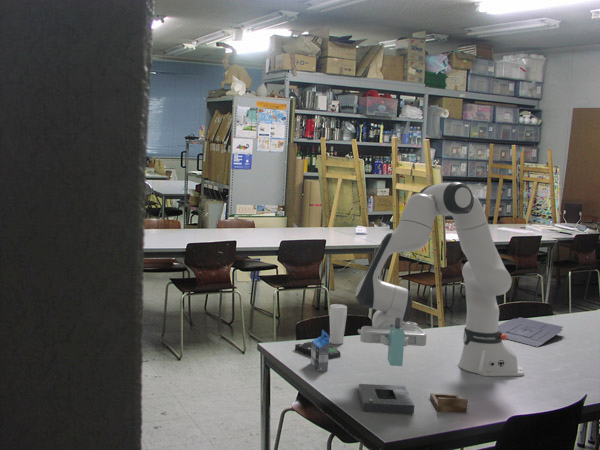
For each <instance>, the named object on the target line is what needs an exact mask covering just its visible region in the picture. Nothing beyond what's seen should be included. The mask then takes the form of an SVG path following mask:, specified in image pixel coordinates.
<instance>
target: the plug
mask: <svg viewBox="0 0 600 450" xmlns="http://www.w3.org/2000/svg"><path fill="white" fill-rule="evenodd" d="M400 322H401V319H400V318H399V317H397V318H396V319H395V327H390V332H389V338H390V340H391V342H390V345H389V346H387V362H388V364H389V366H392V367H394V366H395V367H403V361H404V359H403V358H404V348H405V346H404V336H405V333H404V331H403V329H402V328H400Z"/></svg>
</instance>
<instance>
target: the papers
mask: <svg viewBox="0 0 600 450" xmlns="http://www.w3.org/2000/svg"><path fill="white" fill-rule="evenodd" d="M563 328H564V326H562V325H557V324H552V323H549V322H542V321H538V320H534V319H530V318H526V317H517V318H512V319H509V320H507V321H504V322H503V323H501V324H498V331H499V332H501V333H502V334H505V335H506V336H507V339H506V340H511V341H513V342H517V343H522V344H525V345H529V346H533V347H537V348H539V346H542V345H543V344H545V343H546V342H547V341H549V340H551V339H552V338H553V337H555V336H557V335H559V334H561V333H562V331H563Z"/></svg>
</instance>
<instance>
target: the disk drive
mask: <svg viewBox="0 0 600 450" xmlns="http://www.w3.org/2000/svg"><path fill="white" fill-rule="evenodd" d="M294 345H295V347H294V350H295V352H298V353H301V354H304V355H305V356H307V357H310V358H311V345H312V341H310V342H308V341H307V342H303V343H298V344H294ZM340 357H341V351H340V350H339V349H337V348H333V347H332V346H329V354H328V360H330V359H335V358H340Z"/></svg>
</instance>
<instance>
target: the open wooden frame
mask: <svg viewBox="0 0 600 450" xmlns="http://www.w3.org/2000/svg"><path fill="white" fill-rule="evenodd" d="M429 397H430V398H431V399H430V400H431V402H432V404H433V406H434V408H435V407H436V408H435V409H436V412H438V413H454V414H455V413H457V414H468V404H469V403H468V402H469V400H468V398H461V396H459V394H456V393H455V394H452V393H433V392H431V393H430V395H429Z"/></svg>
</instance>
